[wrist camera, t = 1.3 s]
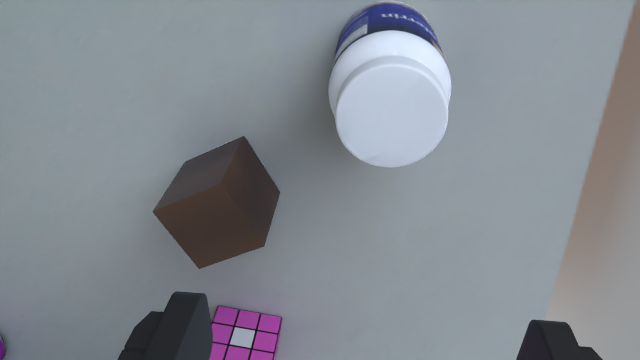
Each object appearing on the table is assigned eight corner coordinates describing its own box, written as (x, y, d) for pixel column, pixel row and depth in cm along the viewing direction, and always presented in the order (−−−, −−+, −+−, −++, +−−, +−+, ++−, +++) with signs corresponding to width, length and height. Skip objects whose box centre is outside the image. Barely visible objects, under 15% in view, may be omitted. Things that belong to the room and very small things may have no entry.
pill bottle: (456, 38, 27) (493, 108, 19) (393, 111, 30) (400, 201, 22) (377, -25, 26) (379, 22, 18) (318, 59, 29) (295, 133, 20)
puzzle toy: (282, 316, 41) (270, 374, 36) (275, 357, 44) (264, 415, 40) (218, 304, 41) (197, 361, 36) (215, 346, 44) (196, 403, 40)
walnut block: (185, 161, 34) (151, 211, 29) (244, 135, 32) (220, 183, 27) (223, 214, 36) (198, 269, 31) (280, 192, 34) (264, 246, 29)
